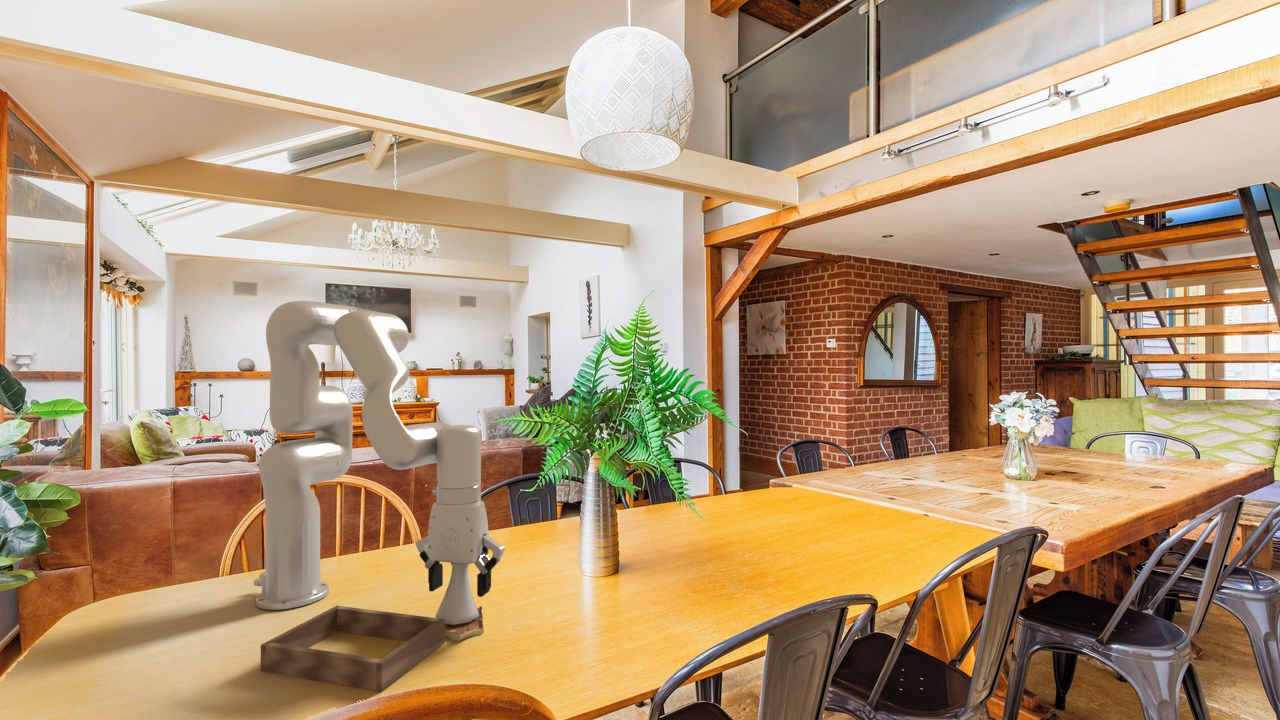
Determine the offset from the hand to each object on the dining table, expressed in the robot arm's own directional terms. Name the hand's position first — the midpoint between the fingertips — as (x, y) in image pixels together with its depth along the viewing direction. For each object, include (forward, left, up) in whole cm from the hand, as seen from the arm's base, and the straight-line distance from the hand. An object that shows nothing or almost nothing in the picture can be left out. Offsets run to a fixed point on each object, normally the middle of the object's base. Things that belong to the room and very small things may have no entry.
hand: (459, 591), depth 103 cm
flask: (-1, 0, -5) cm, 5 cm away
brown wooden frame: (-10, -13, -6) cm, 18 cm away
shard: (0, 0, -7) cm, 7 cm away
